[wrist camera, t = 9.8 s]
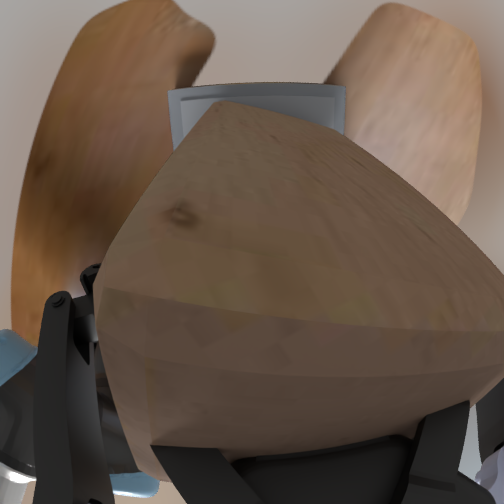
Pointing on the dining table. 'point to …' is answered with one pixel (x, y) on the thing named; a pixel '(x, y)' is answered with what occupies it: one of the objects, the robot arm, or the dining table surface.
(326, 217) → the wooden block
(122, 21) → the dining table surface
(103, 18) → the dining table surface
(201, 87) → the slate tray
